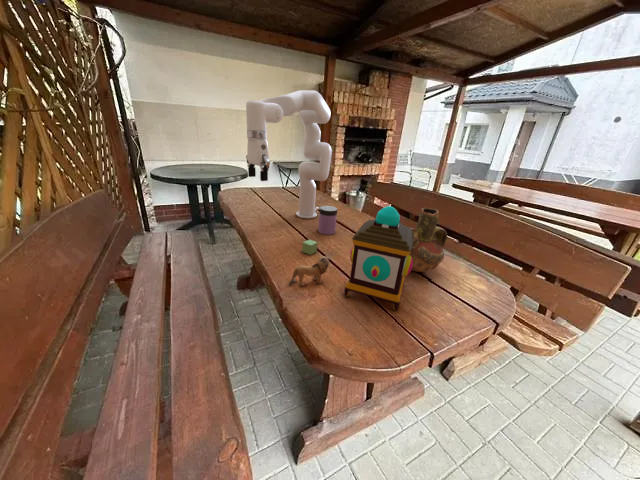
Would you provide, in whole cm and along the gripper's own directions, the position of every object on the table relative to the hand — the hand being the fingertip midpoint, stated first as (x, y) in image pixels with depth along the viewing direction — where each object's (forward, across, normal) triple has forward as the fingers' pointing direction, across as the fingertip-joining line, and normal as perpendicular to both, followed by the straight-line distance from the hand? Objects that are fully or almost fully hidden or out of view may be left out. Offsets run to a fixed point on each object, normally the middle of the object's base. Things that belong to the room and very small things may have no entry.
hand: (257, 178), depth 112 cm
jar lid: (+16, -11, -34) cm, 39 cm away
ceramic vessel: (+28, -60, -35) cm, 75 cm away
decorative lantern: (+28, -60, -10) cm, 67 cm away
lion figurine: (+28, -42, +5) cm, 50 cm away
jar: (+28, -11, -34) cm, 45 cm away
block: (+28, -24, -11) cm, 38 cm away
